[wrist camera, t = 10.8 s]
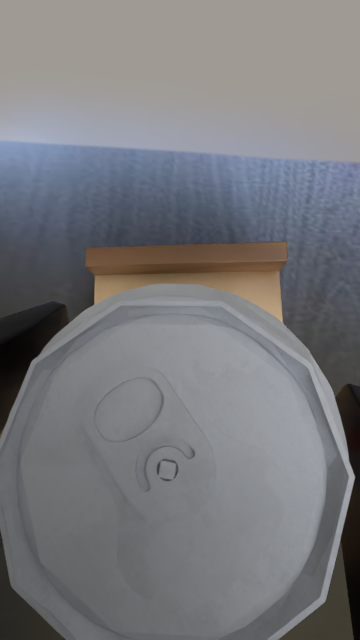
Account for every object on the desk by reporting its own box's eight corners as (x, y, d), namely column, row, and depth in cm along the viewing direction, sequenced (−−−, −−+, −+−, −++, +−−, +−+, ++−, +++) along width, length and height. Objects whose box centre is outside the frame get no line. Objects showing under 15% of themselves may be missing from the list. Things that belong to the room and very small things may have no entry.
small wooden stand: (274, 501, 18) (311, 560, 12) (109, 501, 18) (73, 558, 13) (261, 275, 20) (287, 241, 15) (114, 279, 20) (85, 247, 15)
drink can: (175, 459, 15) (100, 864, 3) (121, 378, 15) (-121, 414, 3) (253, 401, 15) (498, 536, 3) (197, 324, 16) (216, 187, 4)
